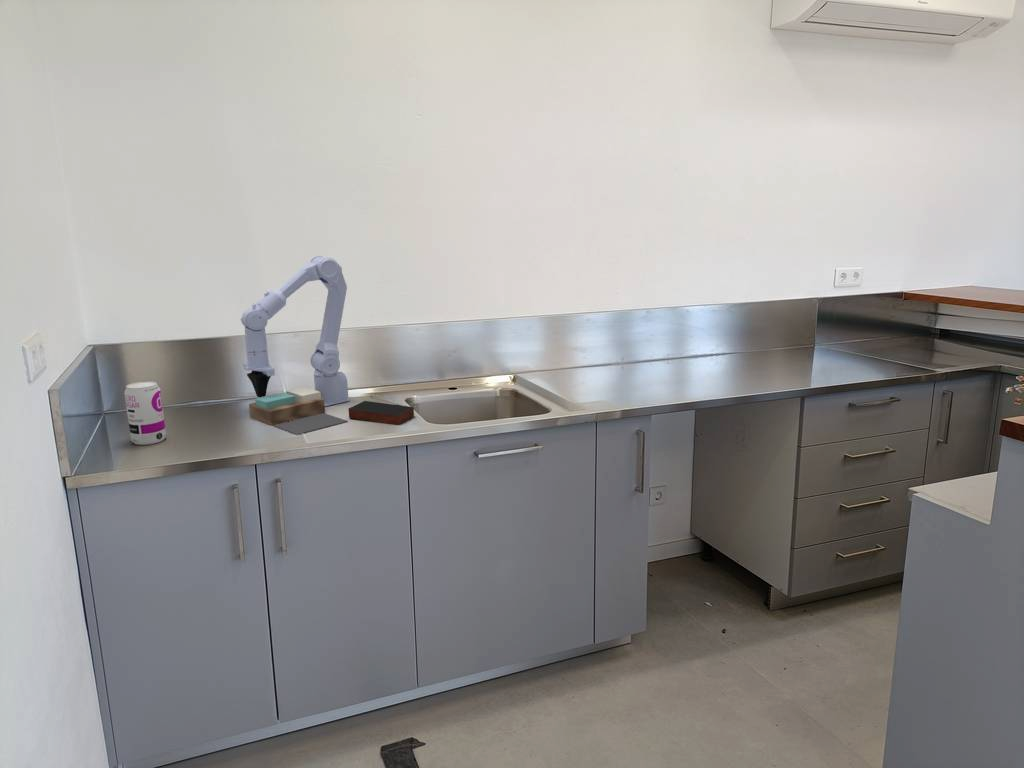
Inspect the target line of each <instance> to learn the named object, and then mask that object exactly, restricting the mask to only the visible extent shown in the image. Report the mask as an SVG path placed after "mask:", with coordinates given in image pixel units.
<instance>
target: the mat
mask: <svg viewBox="0 0 1024 768" xmlns="http://www.w3.org/2000/svg"><path fill="white" fill-rule="evenodd" d="M348 422H349V421H348V420H347V419H343V418H341V417H338V416H333V415H332V414H328V413H326V412H325V413H321V414H317V415H313V416H309V417H305V418H301V419H297V420H293V421H289V422H284V423H280V424H276V425H272V427H274V428H277V429H280V430H283V431H284V430H285V432H287V431H288V433H290V432H291V433H290V434H292V433H294V434H293V435H295V434H300V435H302V434H301V433H304V434H307V433H311V432H315V431H318V430H319V431H320V430H322V429H326V428H330V427H335V426H337V425H342V424H345V423H348Z"/></svg>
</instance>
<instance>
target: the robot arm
mask: <svg viewBox="0 0 1024 768" xmlns="http://www.w3.org/2000/svg"><path fill="white" fill-rule="evenodd" d="M315 281H320V282H321V283H322V284H323V286H324V287H325V288H326V289H327V296H326V302H325V308H324V314H323V319H322V325H321V326H322V327H321V332H320V336H319V337H320V338H319V341H318V343H317V344H316V346H315V350H314V351H313V354H312V355H311V357H310V364H311V367H312V368H313V369H314V372H313V381H314V390H316V391H319V392H321V399H324V407H328V406H329V407H330V406H333V405H337V404H341V403H345V402H350V401H351V399H350V398H349V389H348V388H349V386H348V377H347V376H346V374H345V373H344V372H342V371H339V370H340V367H341V362H340V358H339V355H340V351H339V347H338V342H339V341H338V340H339V336H340V330H341V329H340V328H341V323H342V318H343V312H344V307H345V301H346V295H347V290H348V286H347V285H348V284H347V283H346V280H345V277H344V275H343V268H342V266H341V264H340V263H338V262H337V260H335V259H334V258H332V257H324V256H321V255H318V256H317V255H316V256H314V257H312V258H311V259H310V261H307V262H306V263H305V264H304V265H302V267H301V268H299V270H297V271H296V273H294V274H293V275H292V277H290V278H289V279H288V280H287V281H286V282H285V283H284V284H283V285H282V286H281V287H280V288H279V289H276V290H275V289H271V290H270V291H269V290H268V291H265V292H264V293H263V295H264V296H263V297H262V298H261V299H259V301H257V302H256V303H253V304H252V305H251V308H248V309H245V310H244V312H243V313H242V315H241V318H240V322H241V323H242V325H243V326H244V334H245V335H244V341H245V349H246V358H247V359H246V360H247V362H246V361H245V362H243V363H242V364H243V365H242V366H243V369H244V371H251V372H249V373H247V374H246V376H247V377H248V379H249V380H250V382H251V385H252V386H253V389H254V392H255V394H256V397H257V398H261V397H265V396H266V395H267V390H268V386H269V382H270V379H271V377H272V376H276V373H275V368H273V367H272V366H271V364H270V363H269V362H270V361H269V351H268V342H267V341H268V340H267V334H266V327H267V325H268V321H269V320H271V318H273V317H274V316H276V314H278V313H279V312H280V311H281V310H282V309H283V308H284V307H285V306H286V304H287V298H289V297H290V296H292V295H293V294H294V293H296V292H297V291H298V290H299V289H300V288H302V287H303V286H304V285H305V284H307V283H308V282H315Z"/></svg>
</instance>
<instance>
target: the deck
mask: <svg viewBox="0 0 1024 768" xmlns="http://www.w3.org/2000/svg"><path fill="white" fill-rule="evenodd" d="M325 407H326V406H325ZM325 407H324V399H317V400H312V401H308V402H304V403H302V402H299V401H296V400H295V403H292V404H288V405H284V406H279V407H275V408H270V409H264V408H261V407H259V406H256V403H255V402H252V403H248V409H249V417H250V418H251V419H252V420H256V421H258V422H262V423H264V424H266V425H270V426H272V427H273V425H277V424H281V423H285V422H287V421H292V420H297V419H301V418H305V417H309V416H314V415H318V414H322V413H325V414H326V411H325V410H326V408H325Z"/></svg>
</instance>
